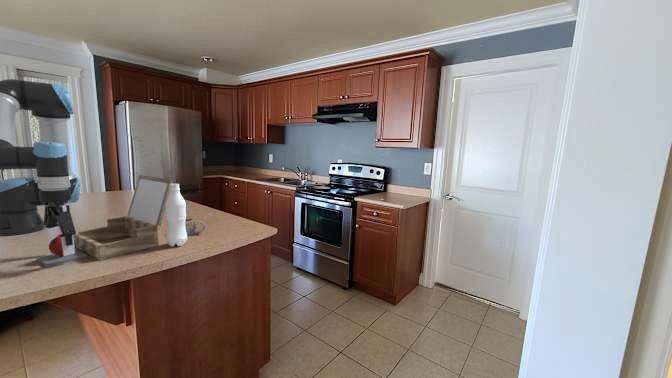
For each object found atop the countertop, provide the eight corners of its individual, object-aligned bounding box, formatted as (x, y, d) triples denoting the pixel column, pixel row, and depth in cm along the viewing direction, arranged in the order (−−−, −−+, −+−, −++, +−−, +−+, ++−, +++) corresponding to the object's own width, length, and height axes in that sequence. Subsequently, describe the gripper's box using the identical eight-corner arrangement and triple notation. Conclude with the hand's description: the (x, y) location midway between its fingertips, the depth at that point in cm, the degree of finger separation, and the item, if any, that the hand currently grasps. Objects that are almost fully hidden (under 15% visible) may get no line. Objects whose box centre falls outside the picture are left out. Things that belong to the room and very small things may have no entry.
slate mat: (37, 260, 93) (36, 257, 93) (75, 251, 102) (75, 248, 102) (47, 267, 88) (47, 264, 88) (87, 257, 97) (86, 254, 97)
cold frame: (72, 245, 107) (70, 225, 106) (128, 233, 124) (126, 216, 123) (100, 260, 95) (98, 238, 94) (158, 244, 111) (157, 225, 110)
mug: (174, 235, 124) (173, 221, 122) (184, 231, 130) (183, 217, 129) (200, 237, 123) (200, 222, 122) (208, 232, 130) (208, 218, 129)
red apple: (58, 260, 92) (56, 237, 90) (45, 258, 93) (42, 235, 92) (78, 253, 97) (76, 232, 96) (65, 252, 98) (63, 230, 97)
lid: (139, 175, 125) (142, 175, 126) (127, 216, 123) (130, 216, 124) (170, 179, 113) (173, 180, 114) (158, 225, 110) (161, 226, 111)
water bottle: (191, 243, 115) (189, 183, 111) (176, 248, 108) (173, 185, 104) (178, 240, 117) (175, 182, 113) (163, 246, 110) (159, 184, 107)
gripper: (26, 186, 95) (34, 245, 98) (52, 195, 82) (60, 262, 85) (56, 184, 101) (62, 239, 104) (84, 192, 89) (90, 254, 92)
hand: (61, 249), depth 95 cm, fingers open, 13 cm apart
